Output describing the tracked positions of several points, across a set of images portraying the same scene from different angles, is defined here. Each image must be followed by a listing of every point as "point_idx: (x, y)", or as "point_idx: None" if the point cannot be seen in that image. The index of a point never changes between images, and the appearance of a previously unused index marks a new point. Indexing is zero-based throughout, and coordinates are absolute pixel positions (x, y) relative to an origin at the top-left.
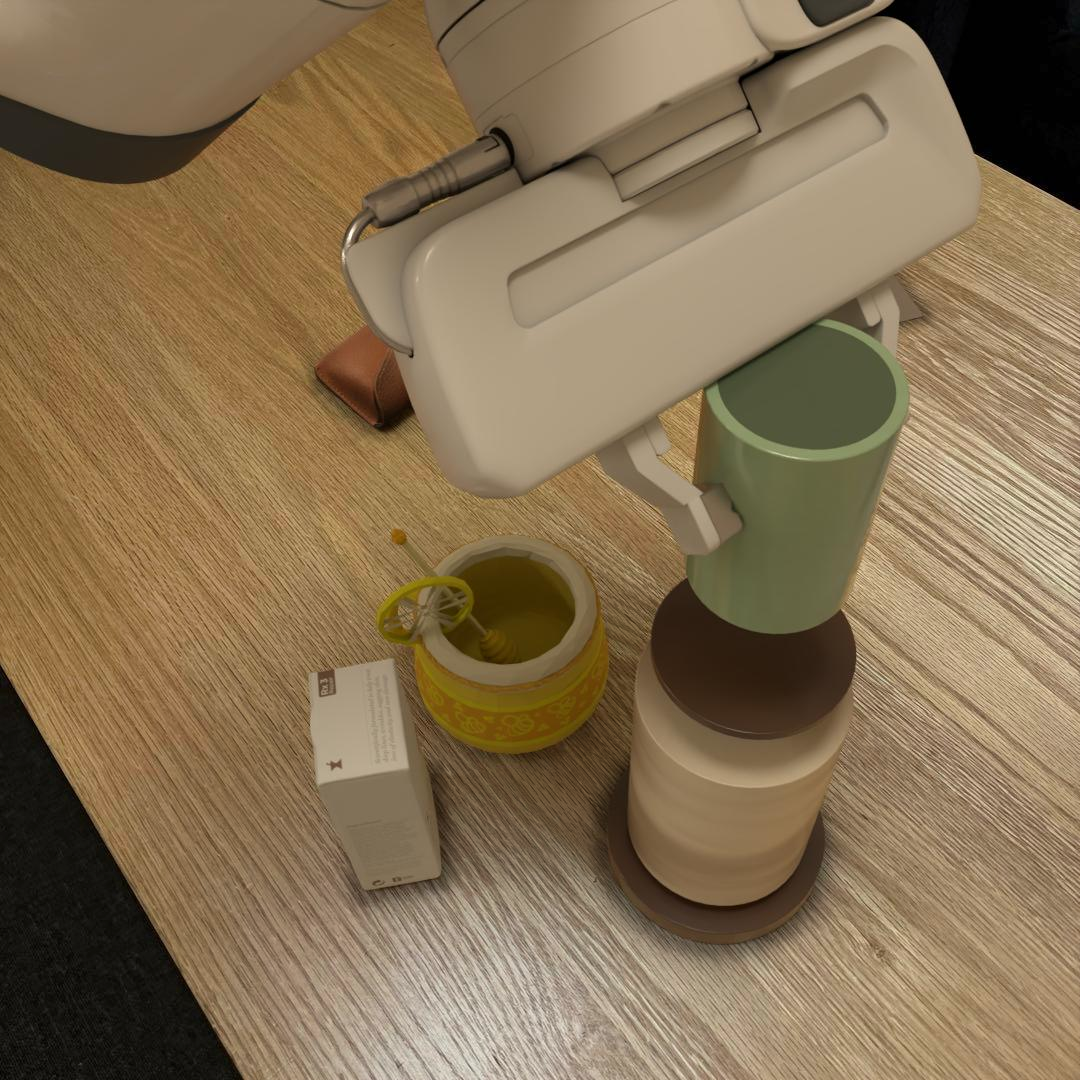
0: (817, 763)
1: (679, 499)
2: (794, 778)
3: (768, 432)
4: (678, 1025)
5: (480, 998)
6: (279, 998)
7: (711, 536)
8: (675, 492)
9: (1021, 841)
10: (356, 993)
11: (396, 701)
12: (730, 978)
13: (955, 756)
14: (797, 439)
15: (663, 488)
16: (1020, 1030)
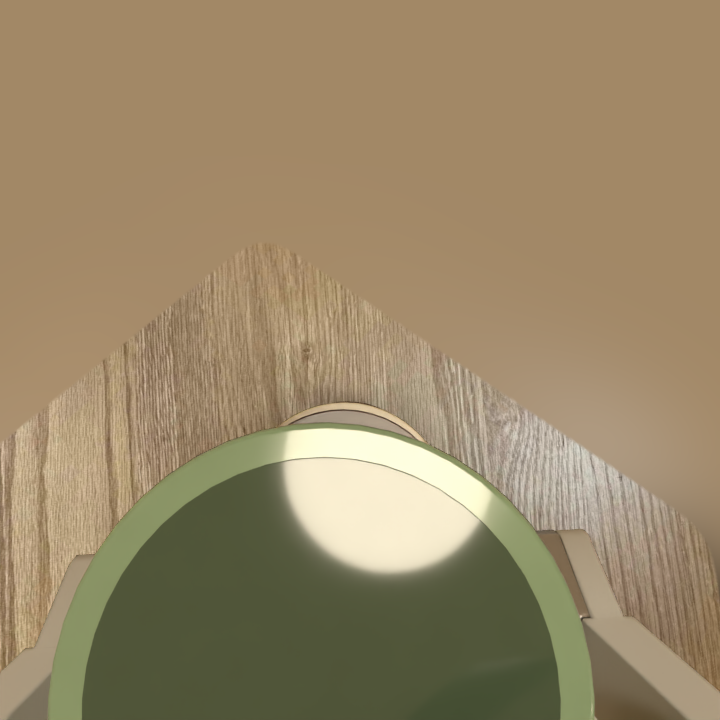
0: (340, 406)
1: (643, 631)
2: (367, 406)
3: (516, 619)
4: (449, 391)
5: (552, 483)
6: (674, 566)
7: (577, 545)
8: (655, 647)
9: (167, 351)
10: (625, 537)
11: (595, 717)
12: (401, 395)
13: (152, 426)
14: (471, 555)
15: (688, 667)
16: (269, 264)
